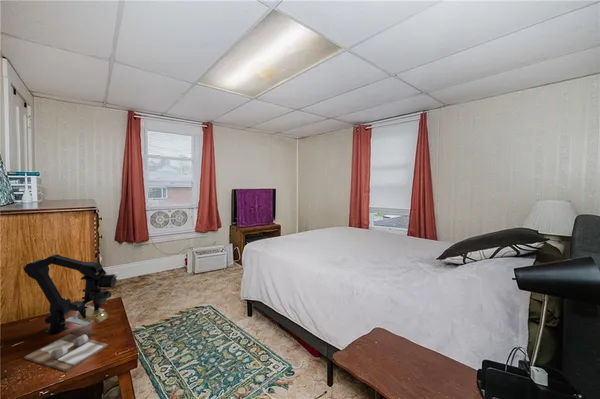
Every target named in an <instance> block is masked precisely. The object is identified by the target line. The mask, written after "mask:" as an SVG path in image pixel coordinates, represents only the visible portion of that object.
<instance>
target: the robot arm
mask: <svg viewBox="0 0 600 399" xmlns="http://www.w3.org/2000/svg"><path fill="white" fill-rule="evenodd" d="M50 265H55V266H58V267H64V268H67V269H69V270H70V269H71V270H75V271H78V272H79V273H80V274H81V275H83V276H82V277H80V280H82V281H83V280H84V282H85V283H84V288H83V289H82V292H84V296H81V297H82V298H81V299H82V300H83V301H80V300H75V301H73V302H72V301H71V299H70V298H67V299H65V298H63V297H62V295H61V293H60V292H59V289H58V288H57V286H56V285H55V283H54V281H53V280H52V278H51V276H50V273H49V272H50ZM23 271H24V273H25V275H27V276H28V277H29V278H30V279H33V280H35V281H36V283H37V285H38V286H39V288H40V289H41V291H42V293H43V295H44V296H45V298H46V299H47V301H48V303H49V314H50V315H49V316H48V317H46V318H45V319H44V323H45V324H48V328H47V329H46V330H45V331H44V333H45V334H46V333H47V334H50V335H53V336H55V335H57V334H59V333H61V332H64V331H66V330H68V328H69V327H67V326H66V321H65V320H66V317H67V316H68V315H69V314H70V313H71V312H72V311H74V312H78V313H80V314H81V316H82V318H84V319H85V316H86V309H87V308H88V306H87V304H90V303H91V302H93V307H94V309H95V310H99V308H101V306H102V304H103V303H106V302H107V299H110V298H111V297H112V291H110V290H105V288H109V289H110V288H112V289H113V288H114V287H115V286H116V284H117V278H116V274H115V273H114V274H107V272H106V270H105V269H104V268H103V267H102V264H101V262H97V261H81V260H78V259H75V258H71V257H67V256H63V255H60V254H56V253H55V254H52V255H50V256H48V257H46V258H44V259H37V260H33V261H31V262H29V263H26V265H24V267H23ZM102 288H104V290H102Z"/></svg>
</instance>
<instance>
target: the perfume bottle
mask: <svg viewBox="0 0 600 399" xmlns="http://www.w3.org/2000/svg"><path fill="white" fill-rule="evenodd" d="M77 314H78V319H80V320H84V321H87V322H95V323H97V324H98V323H101V322H103V321H104V320H106V319H108V317H109V315H108V312H107V311H103V310H102V311H98V310H95V309H91V308H89V309H87V310H86V316H85V319H84V318H82V316H81V314H80V313H79V312H78V313H77ZM80 320H79V321H80Z"/></svg>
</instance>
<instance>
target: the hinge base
mask: <svg viewBox="0 0 600 399" xmlns="http://www.w3.org/2000/svg"><path fill="white" fill-rule="evenodd" d="M107 347H109V344H108V343H105V342H101V341H98V340H95V339H89V337H88V335H87V334H82V335H75V334H72V333H69V334H66V335H64V336H63V337H60V338H58V339H56V340H54V341H52V342H50V343H49V344H46V345H45V346H42V347H40V348H39V349H36V350H34V351H32V352H31V353H29V354H27V355H24V358H23V359H25V360H26V361H27V360H28V361H30V362H34V363H37V364H40V365H43V366H46V367H50V368H53V369H56V370H60V371H62V370H63V372H69V371H71V370H73V369H74V368H76V367H78V366H79V365H81V364H82V363H85V361H87V360H88V359H90V358H92V357H93V356H95V355H97V354H98V353H99V352H101V351H102V350H103V351H104V350H105V349H106V348H107Z"/></svg>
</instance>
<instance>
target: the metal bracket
mask: <svg viewBox="0 0 600 399" xmlns="http://www.w3.org/2000/svg"><path fill="white" fill-rule="evenodd" d="M87 307H88V308H87V309H89V308H91V309H94V306H91V305H88V306H87ZM87 309H86V310H87ZM98 311H102V312H105V309H104V308H101V307H100V308H99V310H98ZM65 322H68V323H72V324H76V325H80V326H82V327H88V326H89V325H90V324H92V322H87V321H84V320H80V319H78V313H76V314H75V315H74V317H73V316H69V317H68V318H65Z"/></svg>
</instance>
